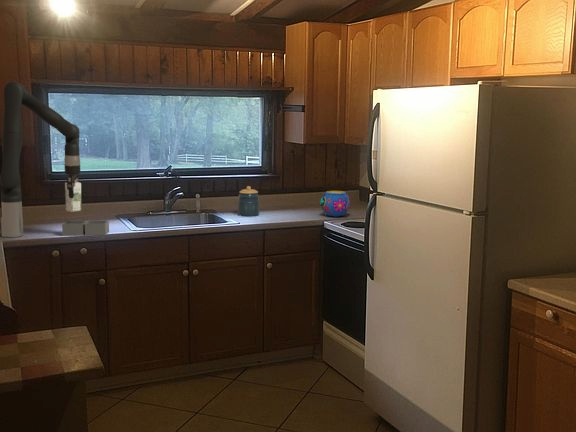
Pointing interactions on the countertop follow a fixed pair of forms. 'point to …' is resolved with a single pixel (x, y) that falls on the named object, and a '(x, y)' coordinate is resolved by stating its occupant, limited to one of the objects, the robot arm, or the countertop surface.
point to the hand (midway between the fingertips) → (73, 196)
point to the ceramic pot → (335, 203)
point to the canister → (248, 202)
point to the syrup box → (75, 202)
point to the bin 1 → (73, 228)
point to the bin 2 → (96, 227)
